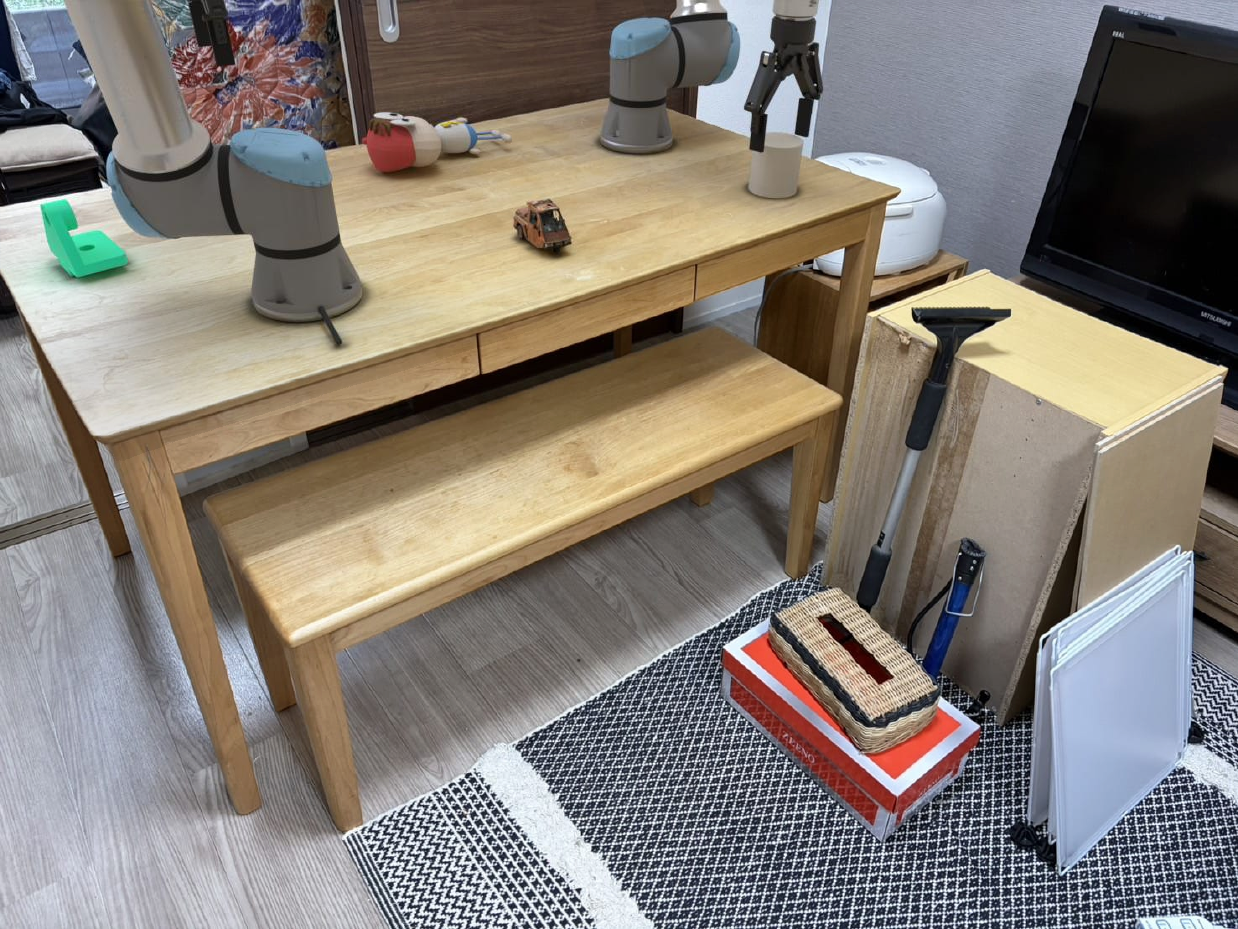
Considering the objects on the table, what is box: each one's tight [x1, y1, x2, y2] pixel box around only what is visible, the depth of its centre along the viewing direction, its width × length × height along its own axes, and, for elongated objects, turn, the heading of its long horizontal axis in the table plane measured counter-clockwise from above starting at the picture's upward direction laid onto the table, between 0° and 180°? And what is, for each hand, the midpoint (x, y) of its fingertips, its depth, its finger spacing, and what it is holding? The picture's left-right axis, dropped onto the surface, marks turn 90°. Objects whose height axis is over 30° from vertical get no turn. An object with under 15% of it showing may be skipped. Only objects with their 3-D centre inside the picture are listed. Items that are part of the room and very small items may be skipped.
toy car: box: [512, 198, 573, 256], centre depth 150 cm, size 6×12×7 cm, turn 39°
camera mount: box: [39, 198, 129, 278], centre depth 139 cm, size 12×8×10 cm, turn 42°
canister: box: [748, 131, 804, 199], centre depth 172 cm, size 9×9×9 cm
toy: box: [361, 111, 513, 173], centre depth 182 cm, size 18×10×30 cm
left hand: (216, 55), depth 147 cm, fingers open, 13 cm apart
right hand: (779, 143), depth 169 cm, fingers open, 13 cm apart
